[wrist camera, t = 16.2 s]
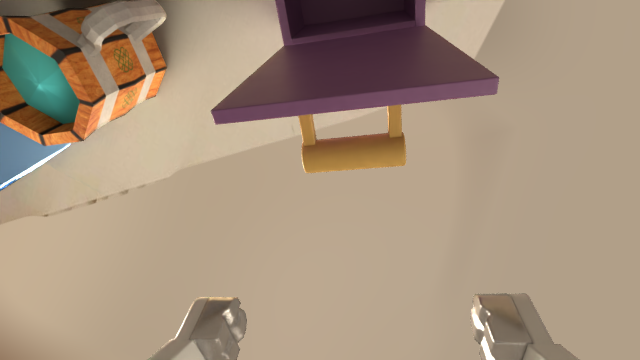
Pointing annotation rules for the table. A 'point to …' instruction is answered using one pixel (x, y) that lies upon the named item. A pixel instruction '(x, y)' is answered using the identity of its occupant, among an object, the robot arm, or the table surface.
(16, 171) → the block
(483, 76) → the lid
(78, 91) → the wooden beer tankard
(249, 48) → the table surface
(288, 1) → the box
